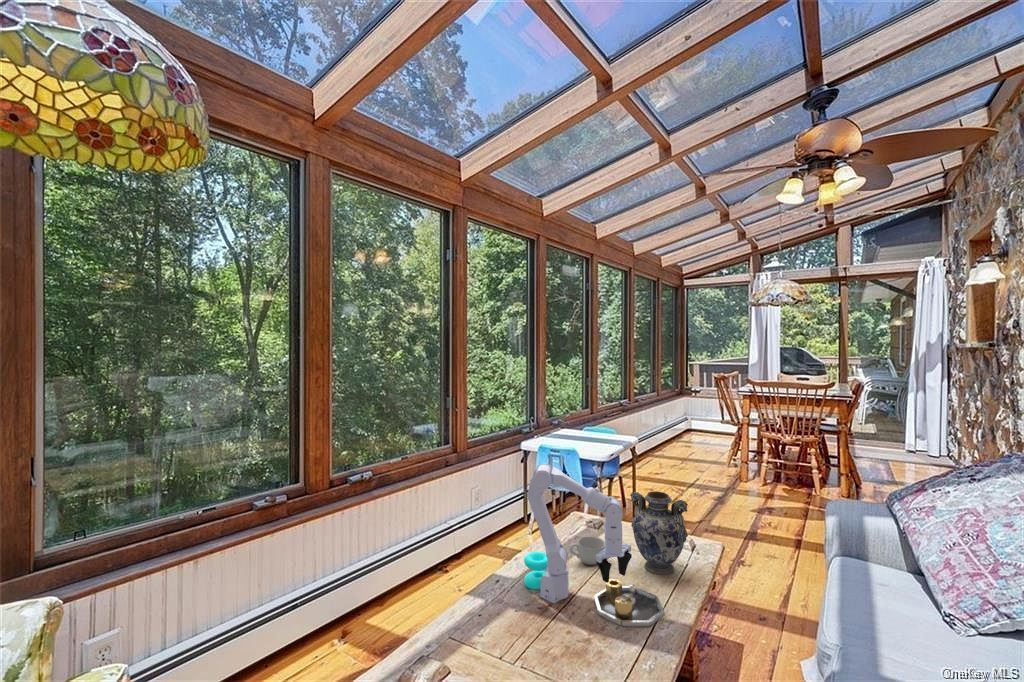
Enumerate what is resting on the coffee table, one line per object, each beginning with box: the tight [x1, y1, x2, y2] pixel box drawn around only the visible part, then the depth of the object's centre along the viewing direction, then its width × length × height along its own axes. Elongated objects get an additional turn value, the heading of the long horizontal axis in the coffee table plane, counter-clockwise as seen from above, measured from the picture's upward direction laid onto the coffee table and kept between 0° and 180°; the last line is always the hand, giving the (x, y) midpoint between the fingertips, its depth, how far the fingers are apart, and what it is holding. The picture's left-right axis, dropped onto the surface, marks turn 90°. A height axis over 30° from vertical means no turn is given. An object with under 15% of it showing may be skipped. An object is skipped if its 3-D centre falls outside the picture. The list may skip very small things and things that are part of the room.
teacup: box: [569, 535, 605, 567], centre depth 184 cm, size 14×11×8 cm
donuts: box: [523, 551, 548, 590], centre depth 167 cm, size 10×10×10 cm
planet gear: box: [605, 578, 623, 602], centre depth 156 cm, size 5×5×5 cm
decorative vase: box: [629, 491, 689, 576], centre depth 178 cm, size 21×19×28 cm
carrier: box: [593, 583, 665, 628], centre depth 151 cm, size 21×21×7 cm
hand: (614, 577), depth 156 cm, fingers open, 7 cm apart
